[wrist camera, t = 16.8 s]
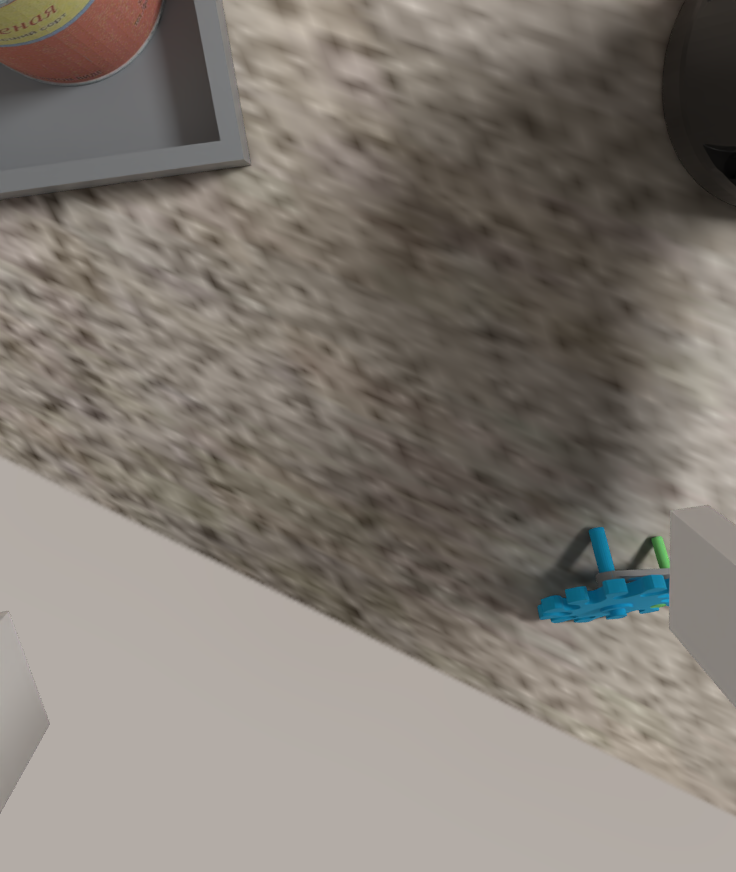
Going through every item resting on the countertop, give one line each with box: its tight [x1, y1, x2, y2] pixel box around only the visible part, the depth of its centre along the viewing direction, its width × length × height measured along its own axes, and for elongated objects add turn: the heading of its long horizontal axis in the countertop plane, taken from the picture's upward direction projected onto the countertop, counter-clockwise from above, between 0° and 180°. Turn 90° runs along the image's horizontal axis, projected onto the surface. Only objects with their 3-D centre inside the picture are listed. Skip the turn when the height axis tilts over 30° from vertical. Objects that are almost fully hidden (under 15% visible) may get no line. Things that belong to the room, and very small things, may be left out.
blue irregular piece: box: [537, 527, 670, 623], centre depth 44 cm, size 11×6×10 cm
